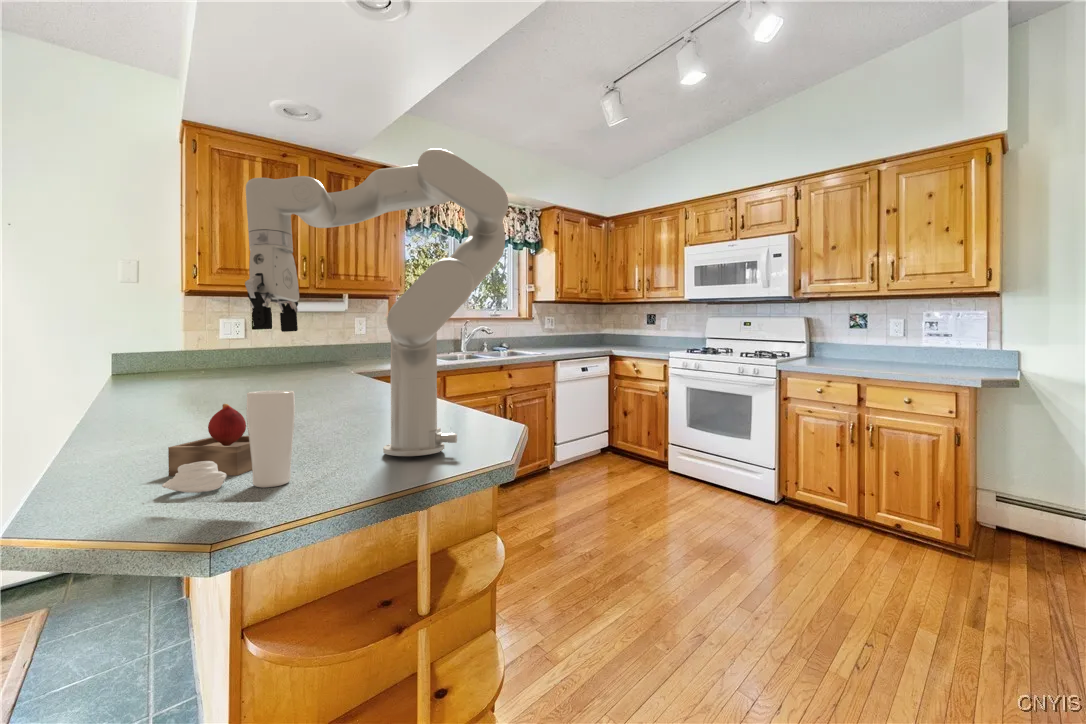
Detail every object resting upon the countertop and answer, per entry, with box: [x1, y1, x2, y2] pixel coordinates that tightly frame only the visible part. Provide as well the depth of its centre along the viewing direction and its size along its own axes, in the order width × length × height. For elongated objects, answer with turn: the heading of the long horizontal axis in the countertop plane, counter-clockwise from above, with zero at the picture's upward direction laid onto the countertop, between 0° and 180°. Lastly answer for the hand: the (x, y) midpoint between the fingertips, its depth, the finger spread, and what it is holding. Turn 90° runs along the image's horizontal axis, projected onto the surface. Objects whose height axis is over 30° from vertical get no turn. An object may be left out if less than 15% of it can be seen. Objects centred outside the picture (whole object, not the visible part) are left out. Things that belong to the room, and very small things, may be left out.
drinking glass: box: [246, 389, 296, 489], centre depth 76 cm, size 7×7×15 cm
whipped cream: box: [161, 461, 228, 494], centre depth 72 cm, size 8×7×5 cm
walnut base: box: [167, 435, 252, 477], centre depth 87 cm, size 12×12×5 cm
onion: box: [207, 403, 247, 446], centre depth 88 cm, size 6×6×8 cm
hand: (276, 330), depth 93 cm, fingers open, 9 cm apart
